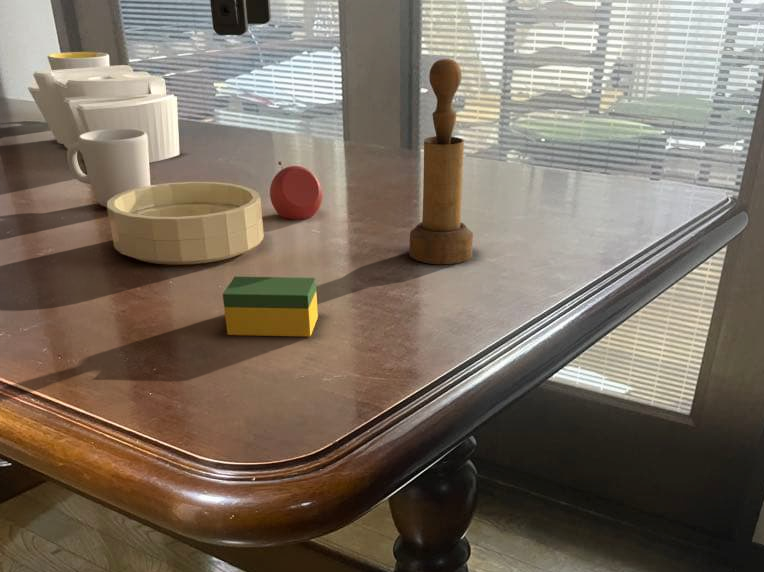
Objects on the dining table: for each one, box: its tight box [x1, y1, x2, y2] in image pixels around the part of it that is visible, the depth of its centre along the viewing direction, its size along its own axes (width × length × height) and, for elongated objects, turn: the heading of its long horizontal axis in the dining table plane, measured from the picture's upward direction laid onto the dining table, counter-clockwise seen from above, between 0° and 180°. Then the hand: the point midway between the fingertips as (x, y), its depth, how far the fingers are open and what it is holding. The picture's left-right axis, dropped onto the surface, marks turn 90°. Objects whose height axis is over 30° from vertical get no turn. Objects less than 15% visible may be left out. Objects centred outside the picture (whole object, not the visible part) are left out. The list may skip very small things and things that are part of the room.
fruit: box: [269, 161, 323, 221], centre depth 103 cm, size 6×6×8 cm
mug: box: [46, 51, 111, 70], centre depth 156 cm, size 14×10×10 cm
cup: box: [66, 129, 151, 208], centre depth 106 cm, size 11×8×8 cm
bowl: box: [106, 181, 265, 266], centre depth 93 cm, size 16×16×5 cm
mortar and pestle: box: [409, 58, 474, 265], centre depth 86 cm, size 7×6×18 cm
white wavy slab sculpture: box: [27, 64, 180, 164], centre depth 133 cm, size 35×16×10 cm, turn 30°
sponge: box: [222, 276, 319, 338], centre depth 74 cm, size 7×4×4 cm, turn 87°
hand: (244, 28), depth 62 cm, fingers open, 8 cm apart
